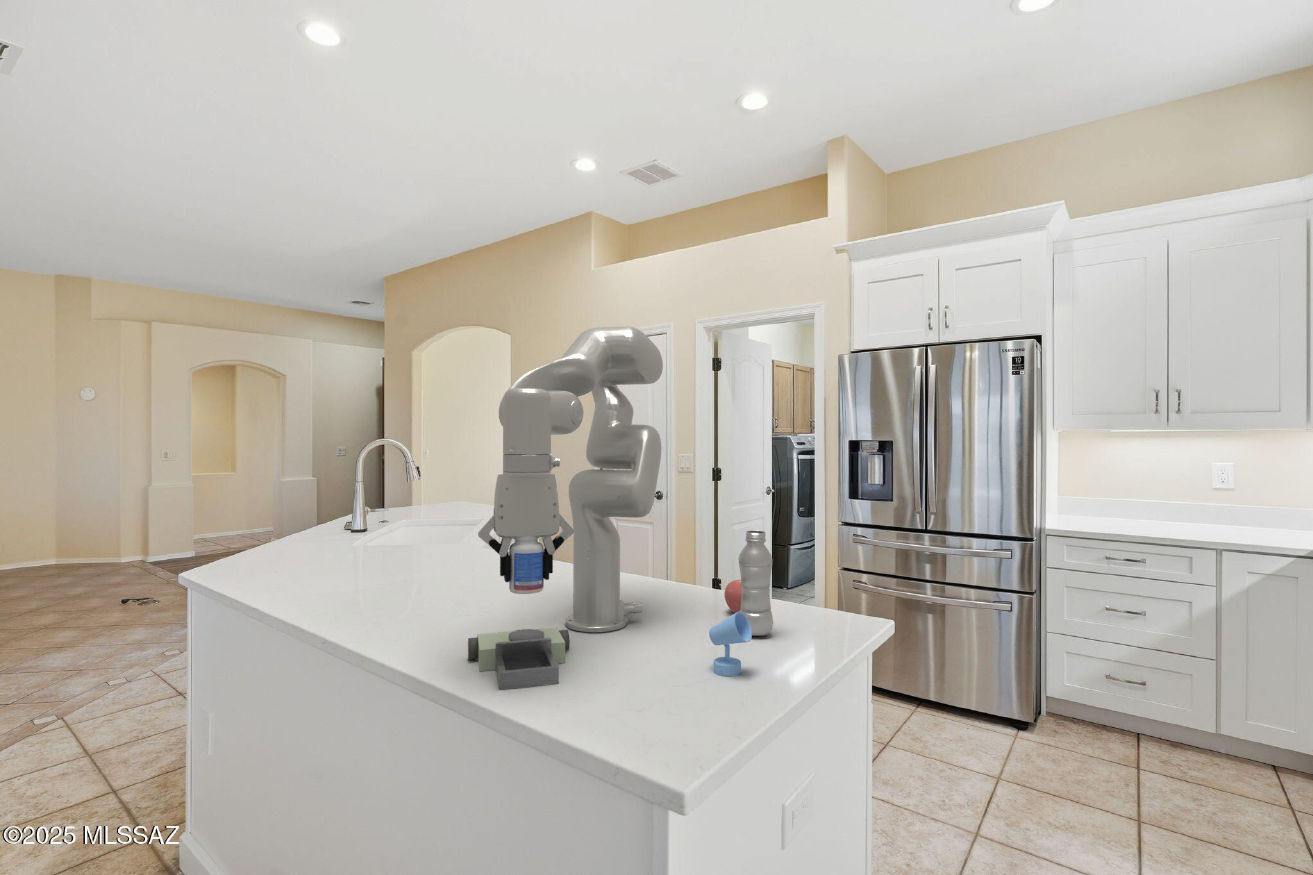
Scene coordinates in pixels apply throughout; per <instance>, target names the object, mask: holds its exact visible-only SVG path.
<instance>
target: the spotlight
mask: <svg viewBox="0 0 1313 875" xmlns="http://www.w3.org/2000/svg"><path fill="white" fill-rule="evenodd" d="M708 634H709V640H710V641H711V642H712V644H713V645H714V646H724V656H720V657H716V658H714V659H713V673H714V674H716V675H717V676H721V677H722V676H723V677H736V676H739V675H740V674H741V673H742V661H741V660H740V659H739V658H736V657H733V656H731V655H730V654H731V653H730V652H731V651H730V650H731V648H730V647H731V645H732V644H733V645H734V644H741V643H742V644H743V643H749V642H751V640H752V638H753V637H752V629H751V625H750V623H749V620H748V619H747V617H746V616H745V615H744V614H743V613H742V612H740V611H739V612H736V613H734V614H731V615H729V617H727V618H725V619H723V620H722V621H720V622H719V623H717V624H715V625H714V626H712V627H710V629H709V632H708Z"/></svg>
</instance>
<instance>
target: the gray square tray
mask: <svg viewBox="0 0 1313 875" xmlns="http://www.w3.org/2000/svg"><path fill="white" fill-rule="evenodd" d="M494 671H495V675H496V680H497V684H498V690H499V691H502V690H511V689H514V690H515V689H522V688H532V687H541V686H547V685H548V686H550V685H558V684H560V668H559V664H557V662H556V660H555V658H554V656H553V654H552V652H551V638H541V639H530V640H519V641H507V642H496V643H495V670H494Z"/></svg>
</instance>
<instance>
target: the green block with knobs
mask: <svg viewBox="0 0 1313 875" xmlns="http://www.w3.org/2000/svg"><path fill="white" fill-rule="evenodd" d="M541 638H551V652H552V654H553V656H554V658H555V660H556V662H557V665H559V664H566V652H568V651H569V650H570V646H571V645H570V643H571V640H570V632H569V630H568V629H560V630H559V629H558V627H548V628H547V627H546V628H537V629H533V628H532V629H531V628H527V629H526V628H525V629H519V630H513V631H511V630H510V631H501V632H500V631H499V632H489V633H488V632H487V633H477V635H476V637H469V638H467V639H468V640H467V657H468V659H467V660H468V661H474V660H477V661H478V669H479V672H487V671H489V672H490V671H495V643H496V642H507V641H519V640H530V639H541Z"/></svg>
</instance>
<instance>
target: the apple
mask: <svg viewBox="0 0 1313 875" xmlns="http://www.w3.org/2000/svg"><path fill="white" fill-rule="evenodd" d="M741 596H742V585H741V579H736V580H735V579H734V580H732V581H730V582H729V583H727V585H726V587H725V588H724V600H725V603H726V605H727V607H728V608H729V609H730V610H731V611H732V613H734V614H735V613H736V612H739V611H740V609H741Z"/></svg>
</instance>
